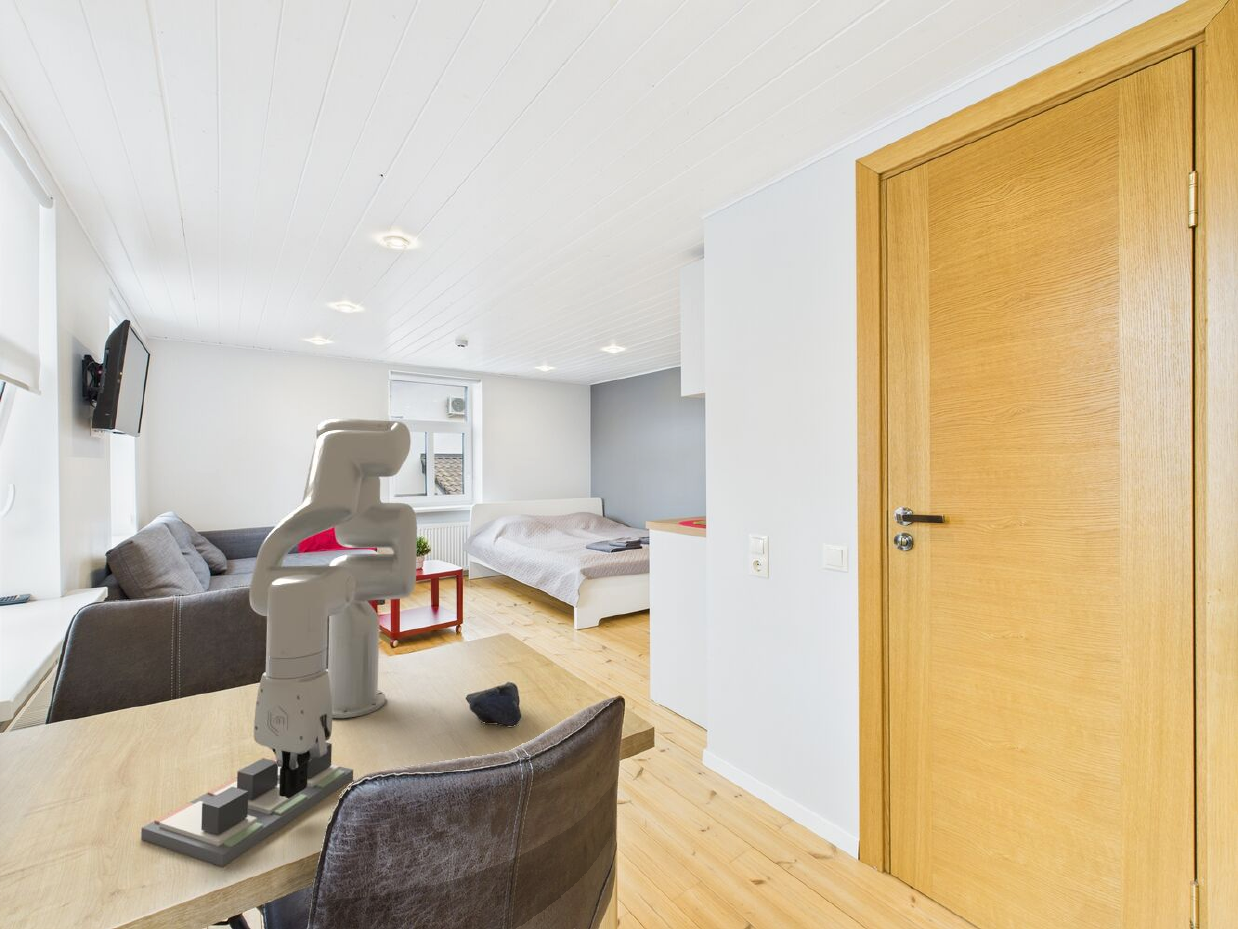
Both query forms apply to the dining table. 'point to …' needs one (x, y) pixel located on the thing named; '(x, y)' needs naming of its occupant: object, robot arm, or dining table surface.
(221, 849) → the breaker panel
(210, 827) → the block
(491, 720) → the rock
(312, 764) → the block
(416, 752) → the dining table surface
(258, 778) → the block
